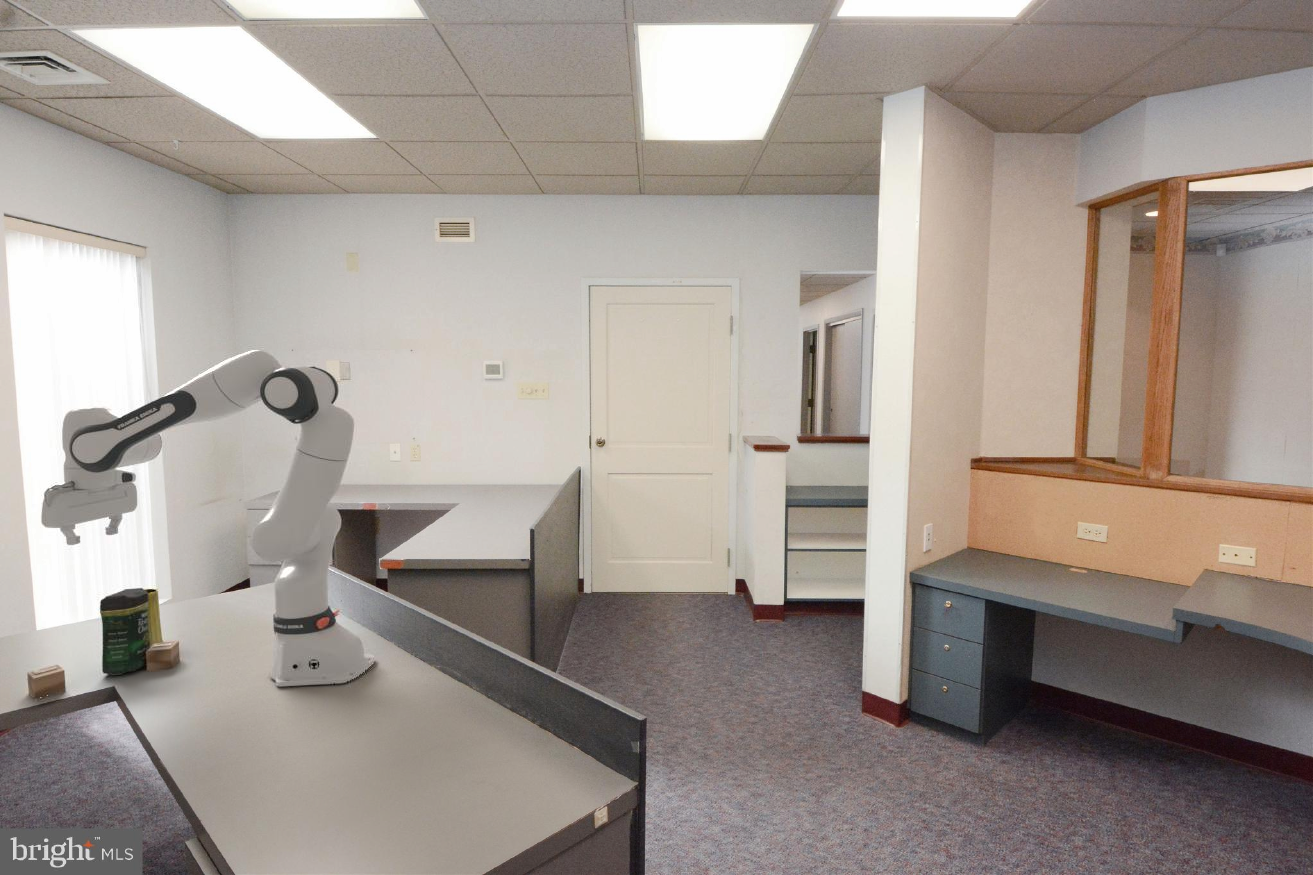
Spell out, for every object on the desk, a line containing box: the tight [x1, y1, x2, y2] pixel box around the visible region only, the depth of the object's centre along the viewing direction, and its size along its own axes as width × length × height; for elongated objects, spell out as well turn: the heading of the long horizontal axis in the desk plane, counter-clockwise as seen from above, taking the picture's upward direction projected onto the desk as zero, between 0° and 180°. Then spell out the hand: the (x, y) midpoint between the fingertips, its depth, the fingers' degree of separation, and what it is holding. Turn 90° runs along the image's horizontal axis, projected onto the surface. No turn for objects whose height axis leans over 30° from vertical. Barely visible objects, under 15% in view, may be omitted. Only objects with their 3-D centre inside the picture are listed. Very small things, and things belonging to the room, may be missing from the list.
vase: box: [143, 588, 164, 647], centre depth 169 cm, size 6×6×14 cm
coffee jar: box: [99, 587, 150, 676], centre depth 155 cm, size 10×8×19 cm
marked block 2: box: [146, 640, 181, 672], centre depth 157 cm, size 5×5×5 cm
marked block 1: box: [27, 664, 67, 700], centre depth 143 cm, size 5×5×5 cm
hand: (93, 539), depth 148 cm, fingers open, 8 cm apart
